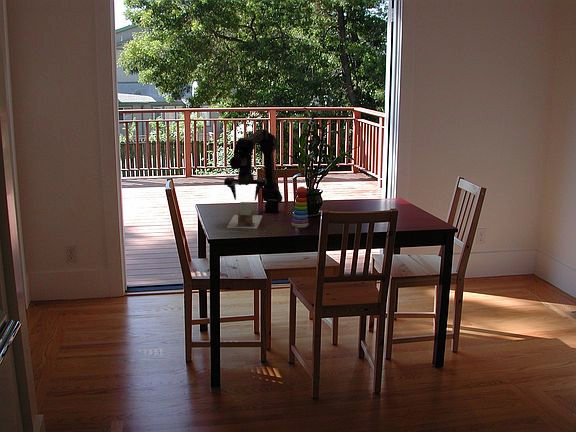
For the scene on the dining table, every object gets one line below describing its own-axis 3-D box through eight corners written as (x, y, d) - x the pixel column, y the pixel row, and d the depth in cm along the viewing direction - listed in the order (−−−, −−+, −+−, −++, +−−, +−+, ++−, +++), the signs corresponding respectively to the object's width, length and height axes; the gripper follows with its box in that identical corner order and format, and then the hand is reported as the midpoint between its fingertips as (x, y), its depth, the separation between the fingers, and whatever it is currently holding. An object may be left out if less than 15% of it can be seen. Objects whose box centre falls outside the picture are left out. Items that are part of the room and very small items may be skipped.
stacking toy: (296, 228, 314) (297, 188, 310) (288, 225, 321) (288, 185, 317) (311, 227, 318) (312, 187, 314) (303, 223, 325) (304, 184, 321)
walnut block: (252, 223, 320) (252, 212, 319) (251, 226, 314) (251, 215, 313) (239, 222, 320) (239, 212, 319) (237, 225, 314) (237, 215, 313)
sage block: (251, 212, 318) (251, 202, 317) (250, 215, 313) (250, 204, 312) (240, 212, 319) (240, 202, 318) (239, 215, 314) (239, 204, 313)
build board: (262, 217, 337) (262, 215, 337) (256, 230, 311) (257, 228, 311) (234, 216, 338) (234, 214, 338) (226, 229, 312) (226, 227, 312)
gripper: (222, 168, 304) (222, 203, 307) (264, 169, 303) (264, 204, 306) (225, 164, 315) (226, 198, 318) (266, 165, 314) (266, 199, 317)
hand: (245, 200), depth 315 cm, fingers open, 9 cm apart
